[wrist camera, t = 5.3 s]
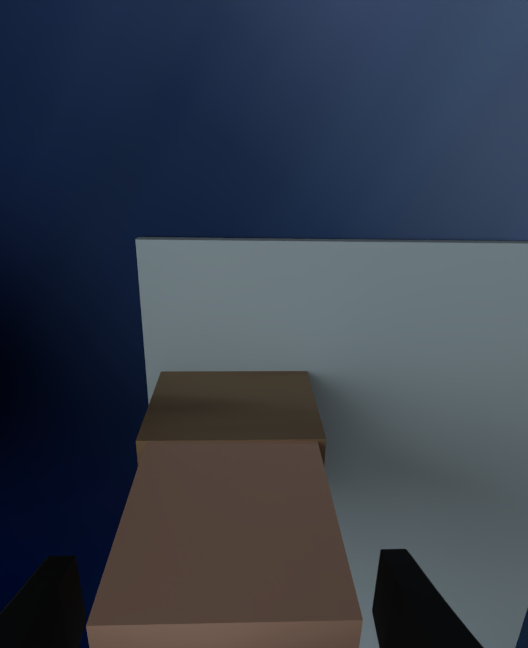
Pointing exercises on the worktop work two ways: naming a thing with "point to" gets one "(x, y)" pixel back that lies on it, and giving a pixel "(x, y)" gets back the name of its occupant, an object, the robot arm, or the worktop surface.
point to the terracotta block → (227, 553)
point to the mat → (380, 390)
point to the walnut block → (232, 408)
